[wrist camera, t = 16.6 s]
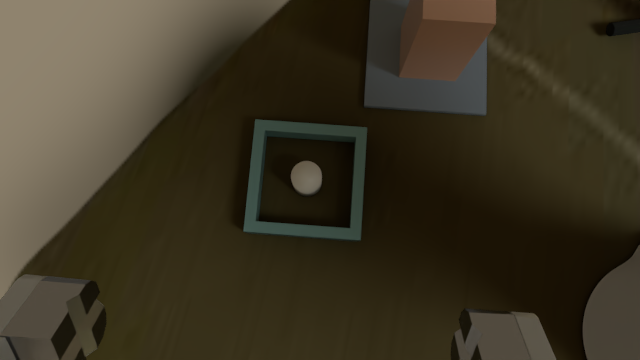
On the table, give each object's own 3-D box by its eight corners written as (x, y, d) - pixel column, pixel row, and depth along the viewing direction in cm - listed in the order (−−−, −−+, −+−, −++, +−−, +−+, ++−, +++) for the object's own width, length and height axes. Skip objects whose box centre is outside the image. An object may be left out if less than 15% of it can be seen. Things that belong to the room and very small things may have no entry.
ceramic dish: (365, 133, 46) (368, 124, 43) (358, 241, 44) (361, 239, 41) (257, 125, 46) (253, 115, 43) (246, 233, 44) (241, 230, 41)
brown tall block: (456, 29, 48) (496, -42, 37) (455, 81, 47) (495, 23, 36) (401, 25, 48) (424, -46, 37) (398, 77, 47) (422, 18, 36)
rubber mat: (485, 6, 49) (487, 3, 48) (484, 115, 46) (486, 114, 46) (370, -2, 49) (370, -5, 48) (363, 107, 47) (364, 105, 46)
